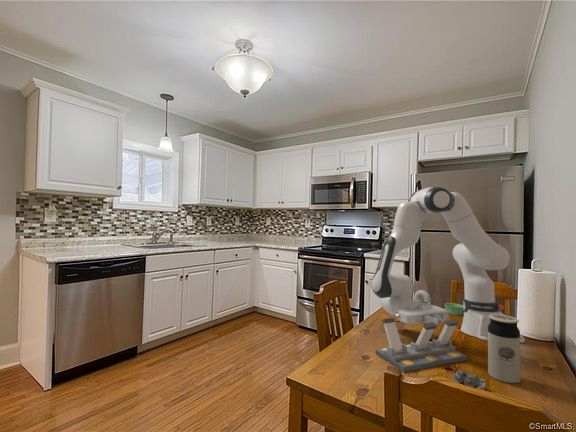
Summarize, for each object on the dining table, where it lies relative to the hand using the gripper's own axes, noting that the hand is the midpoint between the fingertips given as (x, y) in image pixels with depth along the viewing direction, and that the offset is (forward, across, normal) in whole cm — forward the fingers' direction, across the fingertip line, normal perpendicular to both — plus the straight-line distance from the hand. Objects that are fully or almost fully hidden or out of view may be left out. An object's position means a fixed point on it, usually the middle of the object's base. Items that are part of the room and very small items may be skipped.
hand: (439, 321), depth 109 cm
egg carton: (+22, -14, +12) cm, 29 cm away
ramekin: (-36, +49, +11) cm, 62 cm away
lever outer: (+1, -20, +7) cm, 21 cm away
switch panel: (+1, -10, +11) cm, 15 cm away
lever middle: (+1, -10, +7) cm, 12 cm away
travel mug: (+20, +4, +11) cm, 24 cm away
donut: (-49, +41, +11) cm, 65 cm away
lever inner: (+1, 0, +7) cm, 7 cm away
